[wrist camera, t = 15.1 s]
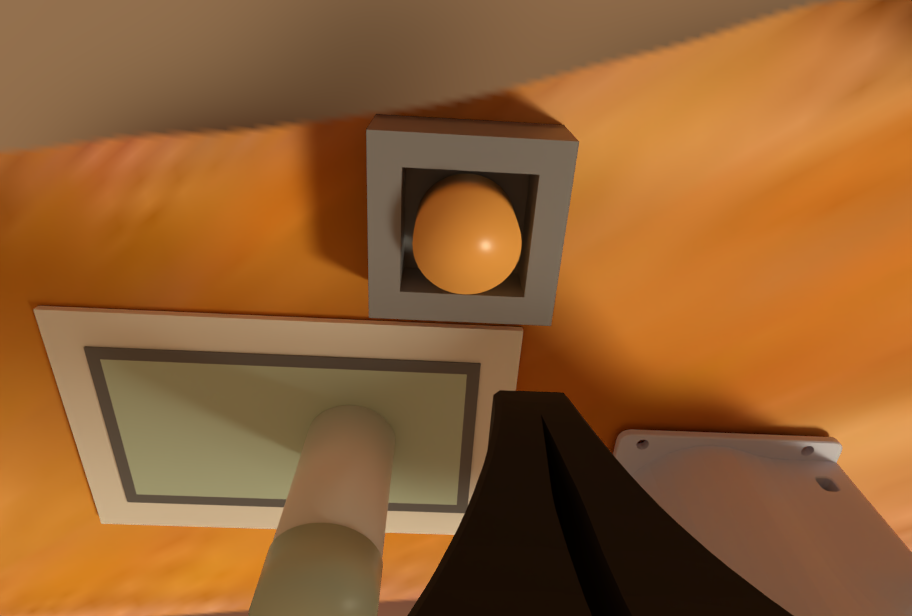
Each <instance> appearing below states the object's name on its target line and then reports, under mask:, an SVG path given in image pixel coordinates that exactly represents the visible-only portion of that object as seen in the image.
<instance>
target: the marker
mask: <svg viewBox="0 0 912 616" xmlns="http://www.w3.org/2000/svg"><path fill="white" fill-rule="evenodd" d="M394 449H395V435H394V432H393V429H392V428H391V426H390V424H389V423H388V422H387V421H386V420H385V419H384V418H383V417H382V416H381V415H379V414H378V413H376V412H375V411H373V410H370V409H368V408H365V407H361V406H355V405H342V406H336V407H333V408H330V409H327V410H325V411H324V412H322V413H321V414H319V415H318V416H317V417H316V418H315V419H314V420H313V422H312V423H311V425H310V428H309V430H308V434H307V437H306V440H305V443H304V446H303V449H302V452H301V455H300V458H299V462H298V465H297V468H296V471H295V474H294V477H293V480H292V483H291V487H290V490H289V493H288V496H287V499H286V502H285V505H284V508H283V512H282V515H281V518H280V521H279V524H278V527H277V530H276V533H275V537H274V540H273V542H272V544H271V546H270V548H269V550H268V553H267V556H266V559H265V562H264V566H263V569H262V572H261V575H260V578H259V581H258V584H257V587H256V590H255V593H254V597H253V600H252V603H251V606H250V609H249V614H248V615H249V616H377V613H378V605H379V595H380V586H381V577H382V568H383V562H382V555H383V546H384V537H385V528H386V519H387V510H388V502H389V493H390V484H391V475H392V466H393V457H394Z"/></svg>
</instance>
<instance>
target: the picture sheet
mask: <svg viewBox="0 0 912 616" xmlns="http://www.w3.org/2000/svg"><path fill="white" fill-rule="evenodd" d="M33 311H34V314H35V317H36V320H37V323H38V326H39V329H40V333H41V336H42V339H43V342H44V345H45V348H46V351H47V355H48V358H49V361H50V364H51V367H52V370H53V373H54V376H55V380H56V383H57V386H58V389H59V392H60V395H61V398H62V402H63V405H64V408H65V411H66V414H67V417H68V420H69V423H70V427H71V430H72V433H73V436H74V439H75V442H76V445H77V448H78V452H79V455H80V458H81V461H82V464H83V467H84V470H85V474H86V477H87V480H88V483H89V486H90V489H91V492H92V495H93V499H94V502H95V505H96V508H97V511H98V514H99V517H100V521H101V524H131V525H162V526H194V527H226V528H258V529H277V527H278V524H279V521H280V518H281V515H282V512H283V508H284V505H285V502H286V499H287V496H288V493H289V490H290V487H291V483H292V480H293V477H294V474H295V471H296V468H297V465H298V462H299V458H300V455H301V452H302V449H303V446H304V443H305V440H306V437H307V434H308V430H309V428H310V425H311V423H312V422H313V420H314V419H315V418H316V417H317V416H318V415H319V414H321V413H322V412H324V411H325V410H327V409H330V408H333V407H336V406H342V405H355V406H361V407H365V408H368V409H370V410H373V411H375V412H376V413H378V414H379V415H381V416H382V417H383V418H384V419H385V420H386V421H387V422H388V423H389V424H390V426H391V428H392V429H393V432H394V435H395V449H394V457H393V466H392V475H391V484H390V493H389V502H388V510H387V519H386V528H385V533H416V534H448V535H455V533H456V531H457V529H458V527H459V525H460V522H461V520H462V518H463V516H464V514H465V511H466V509H467V507H468V504H469V502H470V500H471V497H472V494H473V492H474V489H475V486H476V484H477V481H478V478H479V475H480V473H481V470H482V467H483V464H484V461H485V457H486V453H487V449H488V440H489V430H490V421H491V412H492V402H493V395H494V394H495V393H497V392H498V391H499V390H507V391H516V385H517V377H518V369H519V362H520V354H521V346H522V338H523V327H509V326H486V325H464V324H441V323H419V322H396V321H374V320H352V319H329V318H307V317H284V316H262V315H239V314H217V313H194V312H172V311H149V310H127V309H104V308H82V307H59V306H37V307H36V308H34V309H33Z"/></svg>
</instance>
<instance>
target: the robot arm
mask: <svg viewBox="0 0 912 616" xmlns="http://www.w3.org/2000/svg"><path fill="white" fill-rule="evenodd" d="M640 440H645V441H644V442H642V443H637V442H639V441H640ZM806 446H807V447H806ZM804 447H806V448H804ZM803 448H804V449H803ZM841 452H842V445H841V444H840V443H839V442H838V440H836V439H835V438H833V437H818V436H792V435H766V434H740V433H713V432H687V431H661V430H635V429H629V430H625V431H622V432H621V433H620V434H619V435H618V437H617V439H616V443H615V447H614V452H613V454H612V453H611V452H610V451H609V449H608V448H607V447H606V446H605V445H604V443H603V442H602V441H601V440H600V438H599V437H598V436H597V435H596V433H595V432H594V431H593V430H592V428H591V427H590V426H589V425H588V423H587V422H586V421H585V420H584V418H583V417H582V416H581V414H580V413H579V412H578V410H577V409H576V408H575V407H574V405H573V404H572V403H571V401H570V400H569V399H568V398H567V396H566V395H565V394H564V393H557V392H532V391H507V390H499V391H498V392H497V393H495V394H494V395H493V402H492V412H491V421H490V430H489V440H488V449H487V453H486V457H485V461H484V464H483V467H482V470H481V473H480V475H479V478H478V481H477V484H476V486H475V489H474V492H473V494H472V497H471V500H470V502H469V504H468V507H467V509H466V511H465V514H464V516H463V518H462V520H461V522H460V525H459V527H458V529H457V531H456V533H455V535H454V537H453V539H452V541H451V543H450V545H449V547H448V549H447V550H446V552H445V554H444V556H443V558H442V560H441V562H440V563H439V565H438V567H437V569H436V571H435V572H434V574H433V576H432V578H431V579H430V581H429V583H428V584H427V586H426V588H425V589H424V591H423V592H422V594H421V596H420V597H419V599H418V600H417V602H416V603H415V605H414V607H413V608H412V609H411V611H410V613H409V614H408V616H912V552H911V551H910V550H909V549H908V547H907V546H906V545H905V544H904V543H903V541H902V540H901V539H900V538H899V537H898V535H897V534H896V533H895V532H894V531H893V530H892V528H891V527H890V526H889V525H888V524H887V522H886V521H885V520H884V519H883V518H882V516H881V515H880V514H879V513H878V512H877V510H876V509H875V508H874V507H873V506H872V504H871V503H870V502H869V501H868V500H867V499H866V497H865V496H864V495H863V494H862V493H861V491H860V490H859V489H858V488H857V487H856V485H855V484H854V483H853V482H852V481H851V479H850V478H849V477H848V476H847V475H846V473H845V472H844V471H843V470H842V469H841V468H840V466H839V465H838V464H837V463H836V462H837V460H838V458H839V456H840V454H841Z"/></svg>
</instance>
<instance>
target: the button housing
mask: <svg viewBox="0 0 912 616" xmlns="http://www.w3.org/2000/svg"><path fill="white" fill-rule="evenodd" d="M578 146H579V141H578V140H577V139H576V138H575V137H574V135H573V134H572V133H571V132H570V131H569V130H568V129H567V128H566V127H565V126H564V125H556V124H539V123H521V122H504V121H486V120H469V119H451V118H434V117H416V116H399V115H381V114H376V115H375V117H374V118H373V120H372V121H371V123H370V124H369V126H368V128H367V129H366V151H367V219H368V287H369V318H386V319H408V320H430V321H453V322H475V323H498V324H520V325H542V326H551V322H552V316H553V309H554V303H555V296H556V290H557V283H558V277H559V270H560V263H561V257H562V250H563V244H564V237H565V231H566V224H567V218H568V211H569V205H570V198H571V191H572V185H573V178H574V172H575V165H576V159H577V152H578ZM456 174H476V175H480V176H483V177H485V178H488V179H490V180H492V181H493V182H495V183H496V184H497V185H499V186H500V187H501V188H502V189H503V190H504V192H505V193H506V194H507V196H508V197H509V199H510V201H511V203H512V206H513V209H514V212H515V215H516V219H517V222H518V225H519V228H520V233H521V240H522V245H521V253H520V257H519V260H518V262H517V264H516V266H515V268H514V269H513V271H512V272H511V274H510V275H509V276H508V277H507V278H506V279H505V280H504V281H503V282H502V283H500V284H499V285H497V286H496V287H494V288H492V289H490V290H487V291H485V292H481V293H477V294H456V293H452V292H448V291H446V290H443V289H441V288H439V287H437V286H436V285H434V284H433V283H432V282H430V281H429V280H428V279H427V278H426V277H425V276H424V275H423V273H422V272H421V270H420V269H419V267H418V265H417V263H416V261H415V258H414V253H413V244H412V242H413V234H414V227H415V220H416V214H417V210H418V206H419V204H420V201H421V200H422V198H423V196H424V195H425V193H426V192H427V191H428V190H429V189H430V188H431V187H432V186H433V185H434V184H436V183H437V182H438V181H440V180H442V179H444V178H446V177H449V176H452V175H456Z"/></svg>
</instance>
